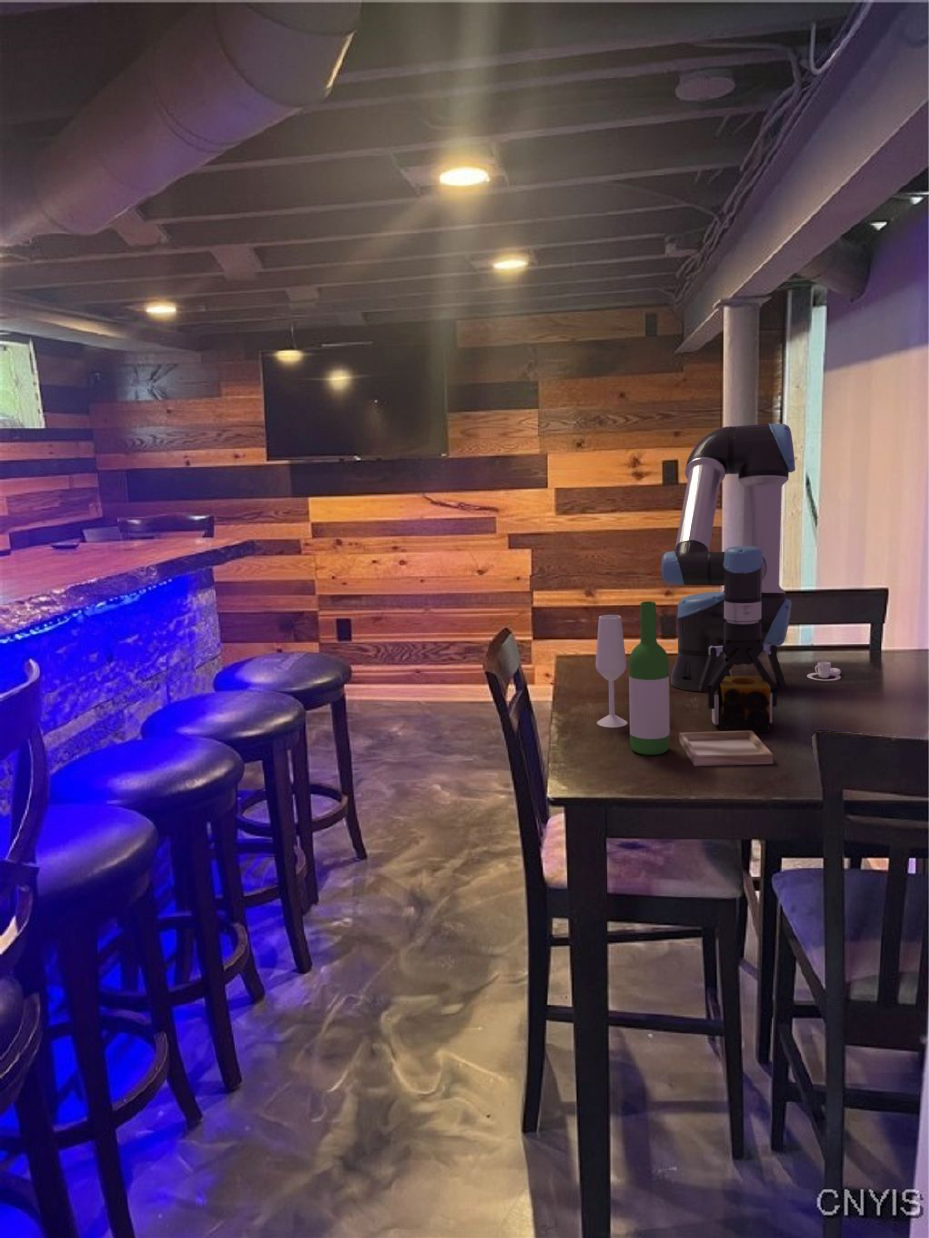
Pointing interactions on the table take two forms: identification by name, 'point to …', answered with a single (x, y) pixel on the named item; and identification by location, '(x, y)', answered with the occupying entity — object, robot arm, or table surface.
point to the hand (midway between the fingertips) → (741, 721)
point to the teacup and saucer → (825, 671)
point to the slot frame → (725, 748)
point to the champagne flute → (610, 661)
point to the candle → (744, 704)
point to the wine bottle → (649, 689)
